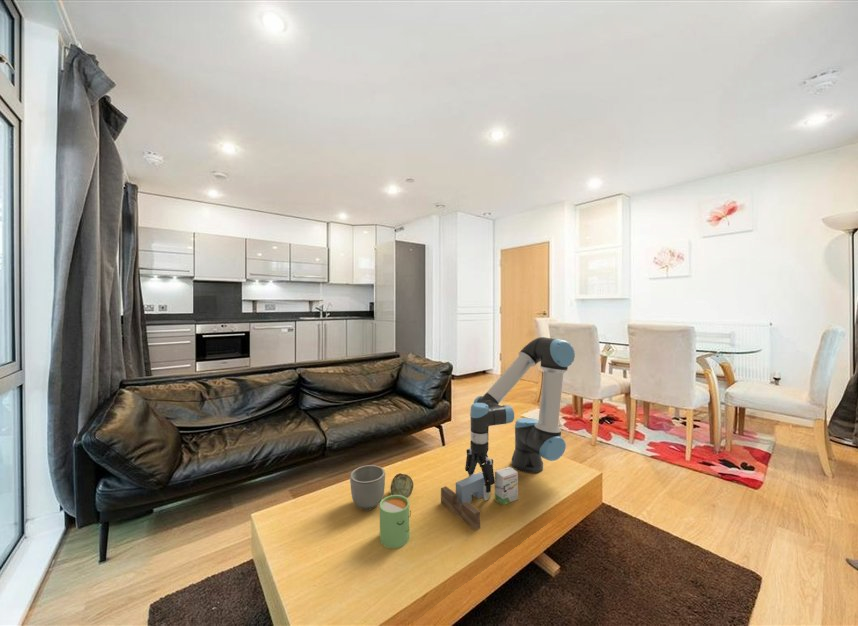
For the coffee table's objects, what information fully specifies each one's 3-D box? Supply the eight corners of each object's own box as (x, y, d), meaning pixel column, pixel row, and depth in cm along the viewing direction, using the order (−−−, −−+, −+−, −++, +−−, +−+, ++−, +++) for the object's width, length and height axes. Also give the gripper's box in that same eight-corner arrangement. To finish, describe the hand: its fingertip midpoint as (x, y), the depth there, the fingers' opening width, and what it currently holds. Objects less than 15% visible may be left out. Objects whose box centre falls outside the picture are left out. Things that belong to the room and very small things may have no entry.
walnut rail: (445, 500, 133) (445, 486, 133) (480, 527, 117) (480, 511, 117) (441, 502, 132) (441, 488, 132) (475, 530, 116) (475, 513, 116)
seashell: (418, 491, 140) (418, 468, 140) (408, 507, 129) (408, 482, 129) (396, 487, 144) (396, 464, 143) (384, 502, 133) (384, 477, 133)
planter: (391, 499, 134) (391, 468, 134) (372, 520, 122) (372, 486, 121) (364, 491, 140) (363, 462, 140) (343, 510, 127) (342, 477, 127)
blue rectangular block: (480, 490, 141) (480, 472, 140) (487, 494, 137) (487, 476, 137) (455, 501, 133) (455, 482, 132) (462, 506, 129) (462, 486, 129)
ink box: (502, 505, 130) (502, 476, 130) (494, 499, 134) (494, 471, 134) (518, 499, 134) (518, 471, 134) (510, 493, 138) (510, 466, 138)
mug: (398, 553, 105) (398, 516, 105) (374, 541, 111) (373, 506, 111) (419, 530, 116) (419, 497, 116) (396, 520, 122) (396, 488, 121)
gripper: (456, 434, 143) (456, 485, 144) (491, 452, 126) (491, 509, 127) (469, 431, 148) (469, 480, 148) (504, 447, 131) (504, 503, 131)
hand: (479, 493), depth 138 cm, fingers open, 8 cm apart
